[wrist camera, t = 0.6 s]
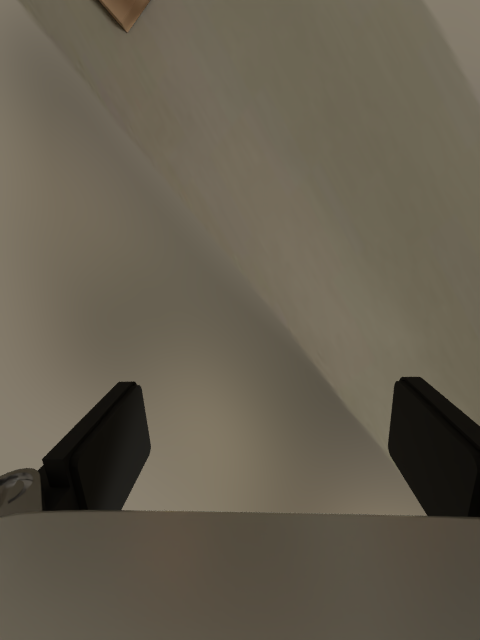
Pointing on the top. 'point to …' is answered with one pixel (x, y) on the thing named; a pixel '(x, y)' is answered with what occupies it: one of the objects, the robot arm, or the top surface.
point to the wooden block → (125, 10)
